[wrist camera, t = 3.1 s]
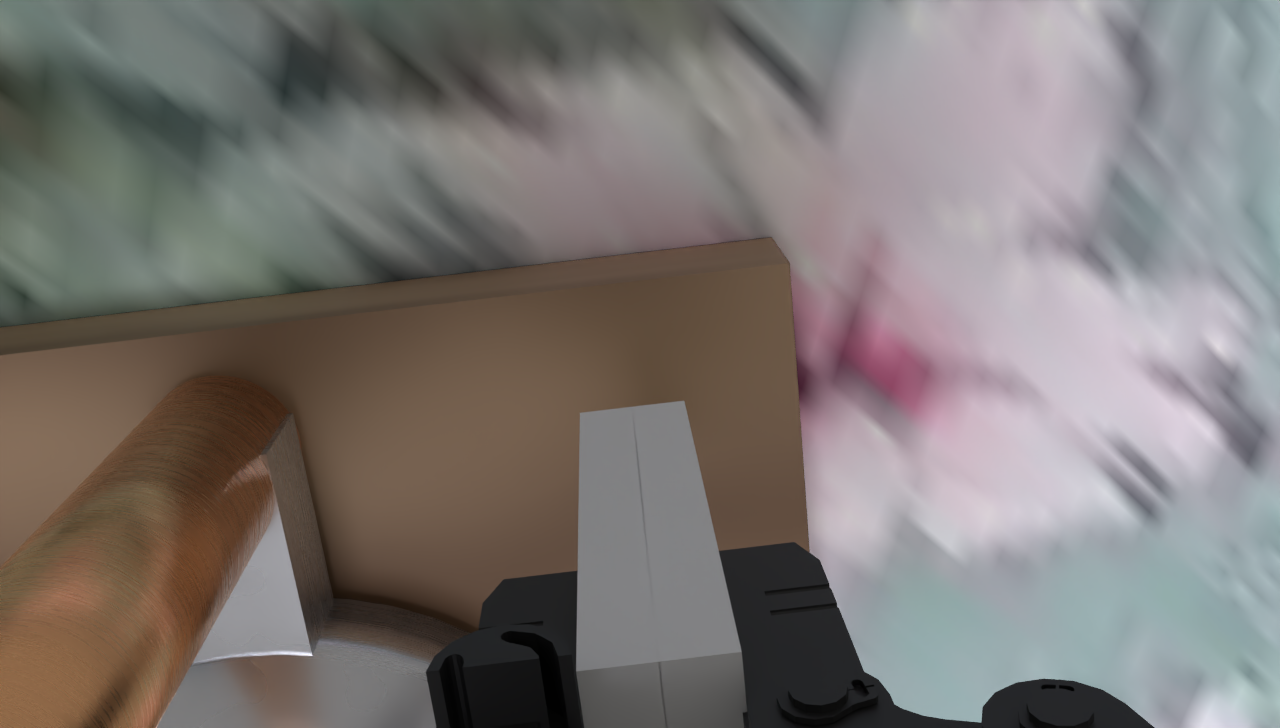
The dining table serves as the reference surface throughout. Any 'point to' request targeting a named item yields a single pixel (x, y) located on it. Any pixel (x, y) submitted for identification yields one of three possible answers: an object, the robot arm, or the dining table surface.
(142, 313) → the board
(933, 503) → the dining table surface
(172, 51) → the dining table surface
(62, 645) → the cam disc
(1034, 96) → the dining table surface
